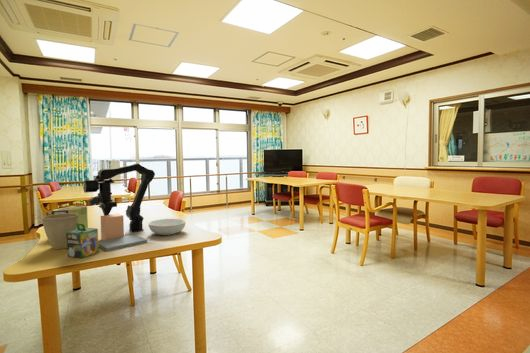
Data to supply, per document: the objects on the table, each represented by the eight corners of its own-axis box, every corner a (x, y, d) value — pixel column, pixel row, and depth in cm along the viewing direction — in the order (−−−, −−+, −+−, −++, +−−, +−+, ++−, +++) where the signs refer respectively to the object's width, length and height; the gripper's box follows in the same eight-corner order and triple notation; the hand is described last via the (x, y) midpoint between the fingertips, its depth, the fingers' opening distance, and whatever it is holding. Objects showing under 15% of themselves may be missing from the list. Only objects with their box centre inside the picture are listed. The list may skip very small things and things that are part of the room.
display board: (134, 236, 162) (134, 234, 162) (147, 242, 152) (147, 239, 152) (95, 244, 148) (95, 241, 148) (106, 251, 137) (106, 248, 137)
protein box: (88, 231, 176) (87, 206, 175) (69, 237, 160) (68, 210, 160) (72, 230, 177) (71, 205, 176) (52, 237, 161) (50, 210, 160)
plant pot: (86, 243, 149) (85, 213, 148) (60, 252, 135) (59, 219, 134) (62, 241, 152) (61, 212, 151) (35, 250, 138) (33, 218, 137)
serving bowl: (171, 239, 158) (171, 227, 157) (140, 236, 164) (140, 224, 164) (192, 230, 177) (192, 219, 177) (164, 228, 184) (164, 217, 184)
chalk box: (99, 252, 135) (98, 221, 134) (81, 258, 127) (80, 226, 126) (85, 250, 138) (84, 220, 137) (66, 256, 130) (65, 224, 129)
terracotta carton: (118, 236, 164) (117, 213, 164) (123, 238, 159) (123, 215, 158) (101, 239, 158) (100, 216, 157) (106, 242, 152) (105, 218, 152)
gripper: (84, 191, 164) (85, 217, 165) (94, 193, 151) (95, 222, 152) (105, 189, 172) (106, 215, 173) (116, 191, 159) (117, 219, 160)
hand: (106, 217), depth 164 cm, fingers closed
